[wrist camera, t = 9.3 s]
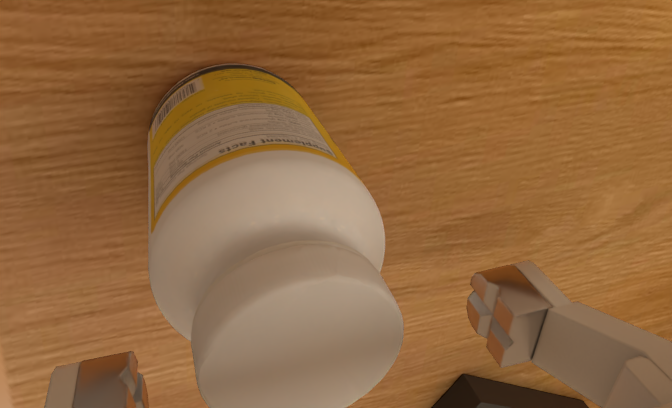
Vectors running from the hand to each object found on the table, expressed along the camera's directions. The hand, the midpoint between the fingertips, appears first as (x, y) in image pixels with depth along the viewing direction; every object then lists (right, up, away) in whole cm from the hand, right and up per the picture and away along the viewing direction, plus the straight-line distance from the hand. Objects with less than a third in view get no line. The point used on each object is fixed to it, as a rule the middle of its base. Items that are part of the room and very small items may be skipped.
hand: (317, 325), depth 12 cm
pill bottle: (-4, +6, +8) cm, 11 cm away
